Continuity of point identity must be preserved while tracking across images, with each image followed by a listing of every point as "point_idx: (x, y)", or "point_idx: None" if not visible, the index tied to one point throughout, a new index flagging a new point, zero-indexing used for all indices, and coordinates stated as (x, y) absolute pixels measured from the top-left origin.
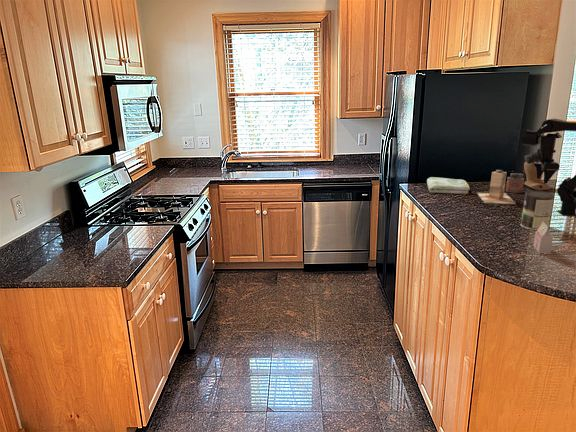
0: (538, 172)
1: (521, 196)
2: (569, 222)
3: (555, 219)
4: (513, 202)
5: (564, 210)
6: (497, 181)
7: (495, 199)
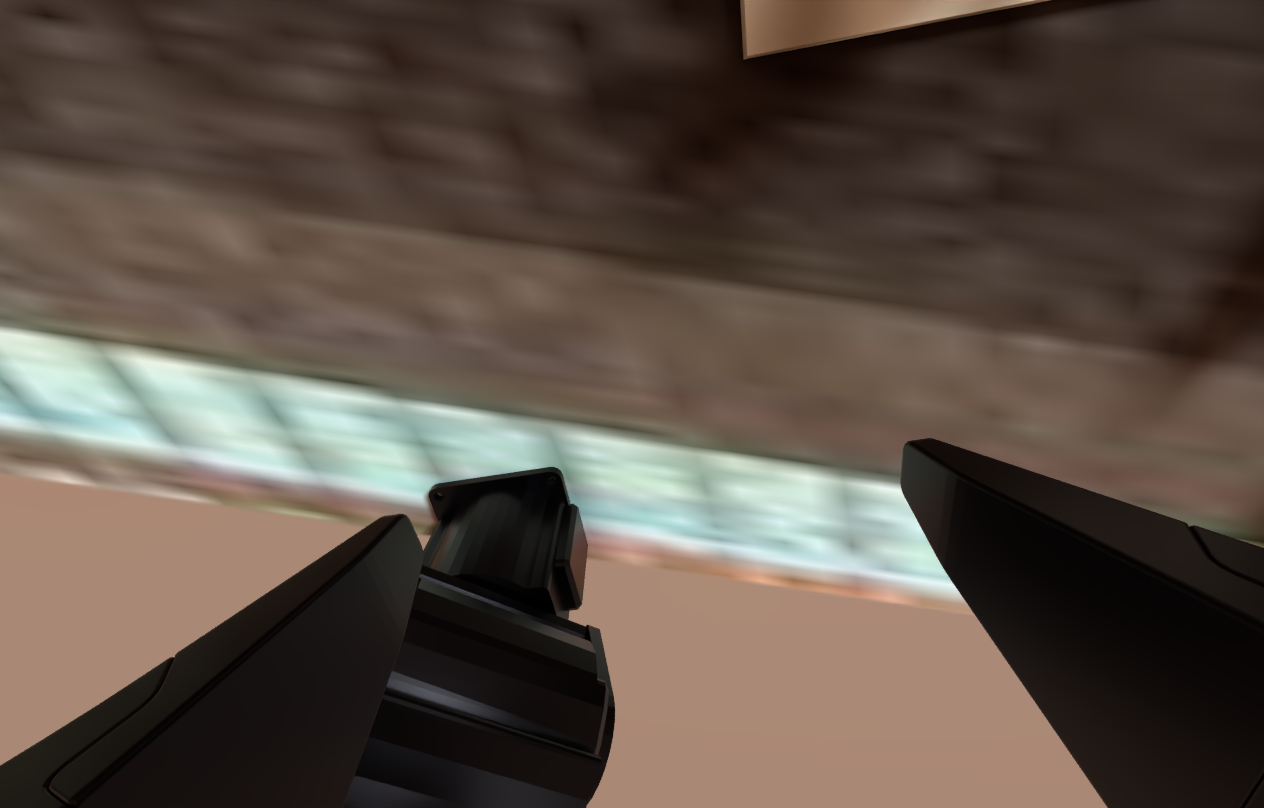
0: (1045, 576)
1: (1153, 197)
2: (247, 498)
3: (274, 412)
4: (777, 18)
5: (452, 521)
6: None
7: None
